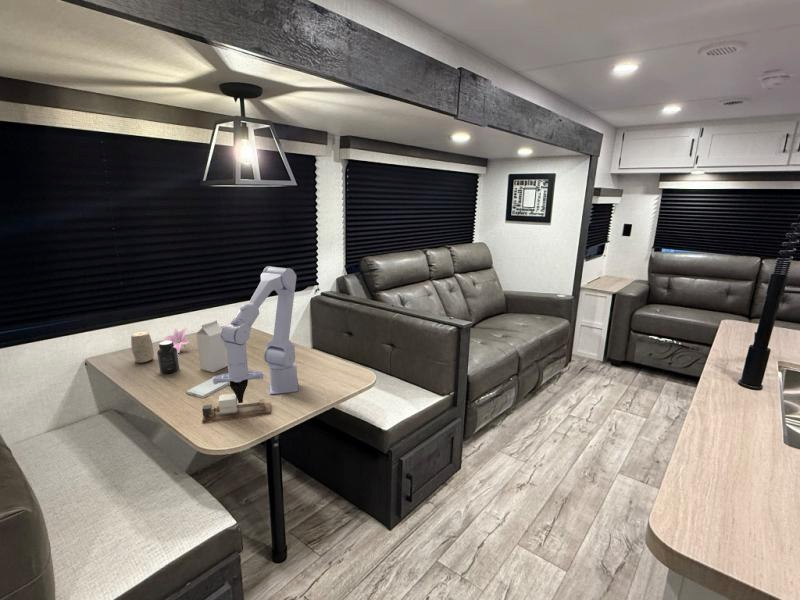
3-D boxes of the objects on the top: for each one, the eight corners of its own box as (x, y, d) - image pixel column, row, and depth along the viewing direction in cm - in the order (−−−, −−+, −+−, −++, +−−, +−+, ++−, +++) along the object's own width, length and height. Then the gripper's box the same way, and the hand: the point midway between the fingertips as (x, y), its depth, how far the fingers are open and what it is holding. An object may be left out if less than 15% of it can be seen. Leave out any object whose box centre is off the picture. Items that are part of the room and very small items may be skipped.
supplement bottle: (160, 369, 164) (156, 340, 161) (179, 366, 167) (176, 338, 164) (159, 376, 158) (155, 346, 155) (179, 373, 161) (176, 343, 158)
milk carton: (227, 366, 168) (223, 321, 163) (213, 372, 162) (208, 326, 157) (214, 363, 171) (210, 318, 166) (200, 369, 165) (195, 323, 160)
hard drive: (213, 376, 156) (185, 390, 145) (230, 381, 153) (202, 395, 142) (214, 380, 156) (185, 394, 145) (230, 385, 153) (203, 399, 142)
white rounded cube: (237, 407, 134) (236, 393, 133) (237, 413, 131) (235, 398, 129) (221, 409, 133) (219, 395, 132) (219, 415, 129) (218, 401, 128)
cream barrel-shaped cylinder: (132, 360, 172) (128, 333, 169) (153, 356, 176) (149, 329, 173) (135, 365, 167) (130, 337, 164) (156, 361, 172) (152, 333, 169)
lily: (164, 349, 187) (155, 335, 180) (189, 335, 193) (181, 321, 186) (176, 364, 181) (167, 350, 174) (201, 348, 187) (193, 334, 180)
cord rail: (270, 404, 138) (269, 394, 138) (270, 413, 133) (270, 403, 132) (204, 413, 132) (203, 402, 132) (202, 422, 127) (201, 412, 126)
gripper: (210, 369, 123) (214, 410, 126) (262, 364, 127) (264, 404, 131) (213, 360, 129) (216, 400, 133) (262, 355, 134) (264, 394, 137)
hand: (240, 401), depth 132 cm, fingers closed
